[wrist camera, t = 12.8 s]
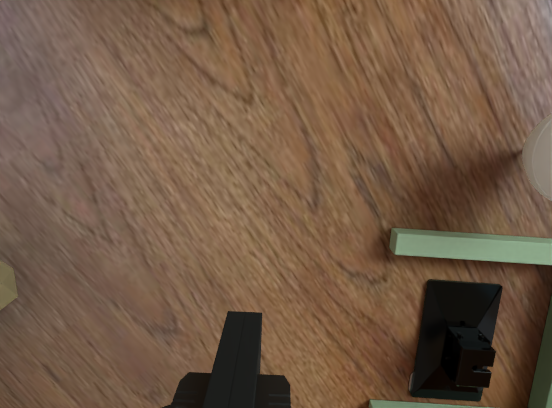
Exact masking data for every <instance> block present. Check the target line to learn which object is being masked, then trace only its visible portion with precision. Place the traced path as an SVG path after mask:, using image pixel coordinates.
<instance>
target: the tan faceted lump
mask: <svg viewBox="0 0 552 408" xmlns="http://www.w3.org/2000/svg"><path fill="white" fill-rule="evenodd" d="M17 297H18V294H17V287H16V281H15V275H14V269H13V268H11V267H10V266H8V265H7V264H5V263H4V262H2V261H0V310H1V309H2V308H4V307H5V306H6V305H8V304H9V303H10V302H12V301H13V300H14V299H16V298H17Z"/></svg>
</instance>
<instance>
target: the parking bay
mask: <svg viewBox="0 0 552 408" xmlns="http://www.w3.org/2000/svg"><path fill="white" fill-rule="evenodd" d="M389 248H390V250H391V251H392V252H393V253H394V254H395V255H407V256H421V257H436V258H451V259H466V260H481V261H496V262H511V263H525V264H540V265H552V239H551V238H536V237H521V236H507V235H492V234H477V233H462V232H447V231H433V230H418V229H403V228H392V229H391V237H390V245H389ZM369 408H492V407H477V406H462V405H446V404H431V403H416V402H401V401H386V400H371V399H370V402H369ZM527 408H552V296H551V300H550V305H549V310H548V314H547V319H546V324H545V328H544V333H543V338H542V342H541V347H540V351H539V356H538V361H537V365H536V370H535V375H534V379H533V384H532V389H531V393H530V398H529V403H528V407H527Z"/></svg>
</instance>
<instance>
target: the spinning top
mask: <svg viewBox="0 0 552 408" xmlns="http://www.w3.org/2000/svg"><path fill="white" fill-rule="evenodd" d="M522 162H523V166H524V170H525V172H526V175H527V177H528V179H529V181H530V182H531V184H532V185H533V187H534V188H535V189H536V190H537V191H538V192H539V193H540V194H541V195H542V196H544V197H545V198H547V199H549V200H550V201H552V113H551V114H550V115H548V116H547V117H546V118H544V119H543V120H542V121H541V122H540V123H539V124H538V125H537V126H536V127H535V128H534V129H533V130H532V132H531V133H530V134H529V136H528V137H527V139H526V141H525V144H524V147H523V151H522Z"/></svg>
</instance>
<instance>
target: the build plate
mask: <svg viewBox="0 0 552 408" xmlns="http://www.w3.org/2000/svg"><path fill="white" fill-rule="evenodd" d="M501 293H502V286H501V285H499V284H488V283H474V282H460V281H446V280H432V279H430V280H428V282H427V288H426V295H425V301H424V308H423V314H422V321H421V327H420V334H419V340H418V347H417V353H416V360H415V366H414V371H413V372H412V373H411V375H410V381H409V387H408V388H409V390H410V393H411V395H412V397H422V398H437V399H451V400H466V401H480V400H481V397H482V391H483V387H484V388H489V384H490V378H491V371H490V370H487V366H489V367H493V363H494V358H495V353H496V351H495V350H494V349H493V348H492V347H491V345H492V340H493V335H494V329H495V324H496V319H497V314H498V309H499V304H500V298H501Z"/></svg>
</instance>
